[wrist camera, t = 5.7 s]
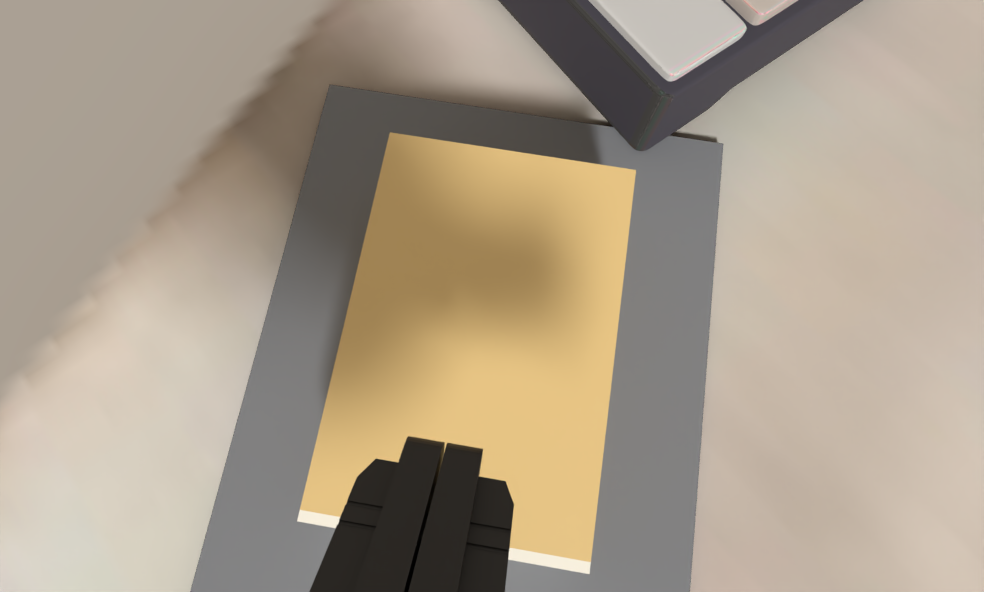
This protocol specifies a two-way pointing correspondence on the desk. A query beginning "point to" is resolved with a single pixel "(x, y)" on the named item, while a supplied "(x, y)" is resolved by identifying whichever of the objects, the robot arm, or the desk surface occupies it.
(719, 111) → the desk surface
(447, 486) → the robot arm
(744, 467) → the desk surface
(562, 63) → the red and grey box
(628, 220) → the ochre block
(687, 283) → the charcoal mat
